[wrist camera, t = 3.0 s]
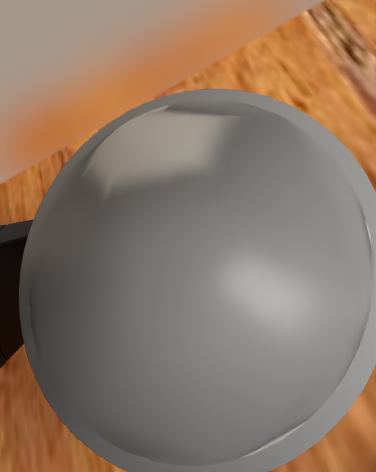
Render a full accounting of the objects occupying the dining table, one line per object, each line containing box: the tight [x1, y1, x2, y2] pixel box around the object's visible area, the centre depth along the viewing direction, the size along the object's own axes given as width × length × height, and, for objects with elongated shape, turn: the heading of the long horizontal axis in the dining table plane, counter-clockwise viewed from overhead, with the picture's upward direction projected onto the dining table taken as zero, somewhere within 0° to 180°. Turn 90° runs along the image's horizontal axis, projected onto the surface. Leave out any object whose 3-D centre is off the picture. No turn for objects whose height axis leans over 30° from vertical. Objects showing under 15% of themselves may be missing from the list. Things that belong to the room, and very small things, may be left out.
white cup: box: [19, 89, 376, 472], centre depth 10 cm, size 6×6×12 cm
